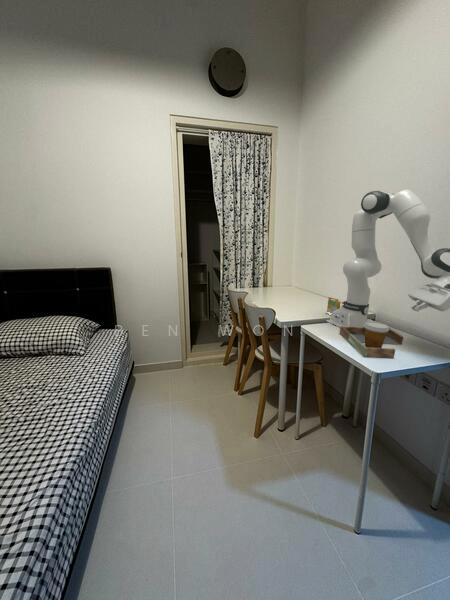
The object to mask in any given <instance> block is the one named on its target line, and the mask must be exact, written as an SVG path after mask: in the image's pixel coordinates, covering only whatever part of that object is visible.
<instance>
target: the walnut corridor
mask: <svg viewBox="0 0 450 600" xmlns="http://www.w3.org/2000/svg"><path fill="white" fill-rule="evenodd" d="M388 329H389V331H388V332H387V334H386V336H388V337H390V338H391V339H393V340H394V341H396V342H397V343H399V345H401V346H402V345H403V342H404V336H403V335H401V334H400V333H398V332H396V331H394V330H393V329H391V328H390V327H388ZM339 334H340V336H341V337H343V339H345V341H347V342H348V344H349V345H351V347H353V349H355V350H356V352H358V353H359V355H361V356H362V357H363V358H373V359H375V358H376V359H377V358H378V359H395V355H396V354H395V353H396V349H395V348H387V347H382V348H371V347H366V346H365V344H364V343H361V342H360V341H359V340H358V339H357V338H355V337H354V336H353V335H352V334H357V335H365V327H345V326H340V327H339Z"/></svg>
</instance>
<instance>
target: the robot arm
mask: <svg viewBox="0 0 450 600" xmlns="http://www.w3.org/2000/svg"><path fill="white" fill-rule="evenodd" d="M360 208H361V209H360V210H358V211H356V212H355V214H354V215H353V218H352V225H351V248H352V250H353V251H354V253H355V257H353V258H351V259H349V260H347V261H346V262H344V264H343V265H342V272H343V274H344V275H345V277H346V281H347V295H346V300H344V301H342V302H341V305H342V306H340V308H339V309H337V310H335V311H333V312H332V314H331V315H330V317H331V318H330V317H329V318H330V320H325V321H326V322H327V323H329V324H331V325H333V324H334V325H333V326H335V325H336V327H339V328H340V326H345V327H365V326H364V325H365V324H366V322H368V314H369V307H370V304H369V302H370V296H371V288H370V287H369V281H368V279H369V278H372V277H374V276H376V275H378V274H379V273H380V272H381V270H382V266H383V265H382V263H381V261H380V260H379V256H378V254H377V250H376V249H377V248H376V222H377V220H378V219H383V218H385V217H388V216H389V215H392V214H393V215H394V216H395V217H396V220H397V221H398V223H399V224H400V226H401V227H402V229H403V230H404V232H405V234H406V236H407V237H408V238H409V240H410V243H411V245H412V246H413V249H414V251H415V253H416V254H417V256H418V259H419V261H420V268H421V272H422V274H423V275H424V276H425V277H427V278H430V279H434V281H432V282H431V283H430V284H423V285H420V286H417V287H416V288H414V289H413V290H411V291H410V292H409V293H408V297H409V298H410V299H411V300H412V301H414V304H413V305H412V306H410V308H411V309H412V311H415V312H420V311H422V310H425V309H427V308H428V307H429V308H432V309H434V310H436V311H439V312H446V311H448V310H450V248H446V247H445V248H444V247H443V248H439V249H437V250H435V249H434V247H433V245H432V243H431V241H430V239H429V236H428V232H429V225H430V221H431V216H430V211H429V210H428V208H427V207H426V204H424V202H423V200H421V199H420V197H419V195H417V194H416V193H415V192H413V191H412V190H411V189H403V190H400V191H398V192H396V193H391V192H388V191H382V190H372V191H369V192H367V193H366V194H364V196H363V197H362V199H361V201H360Z"/></svg>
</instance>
